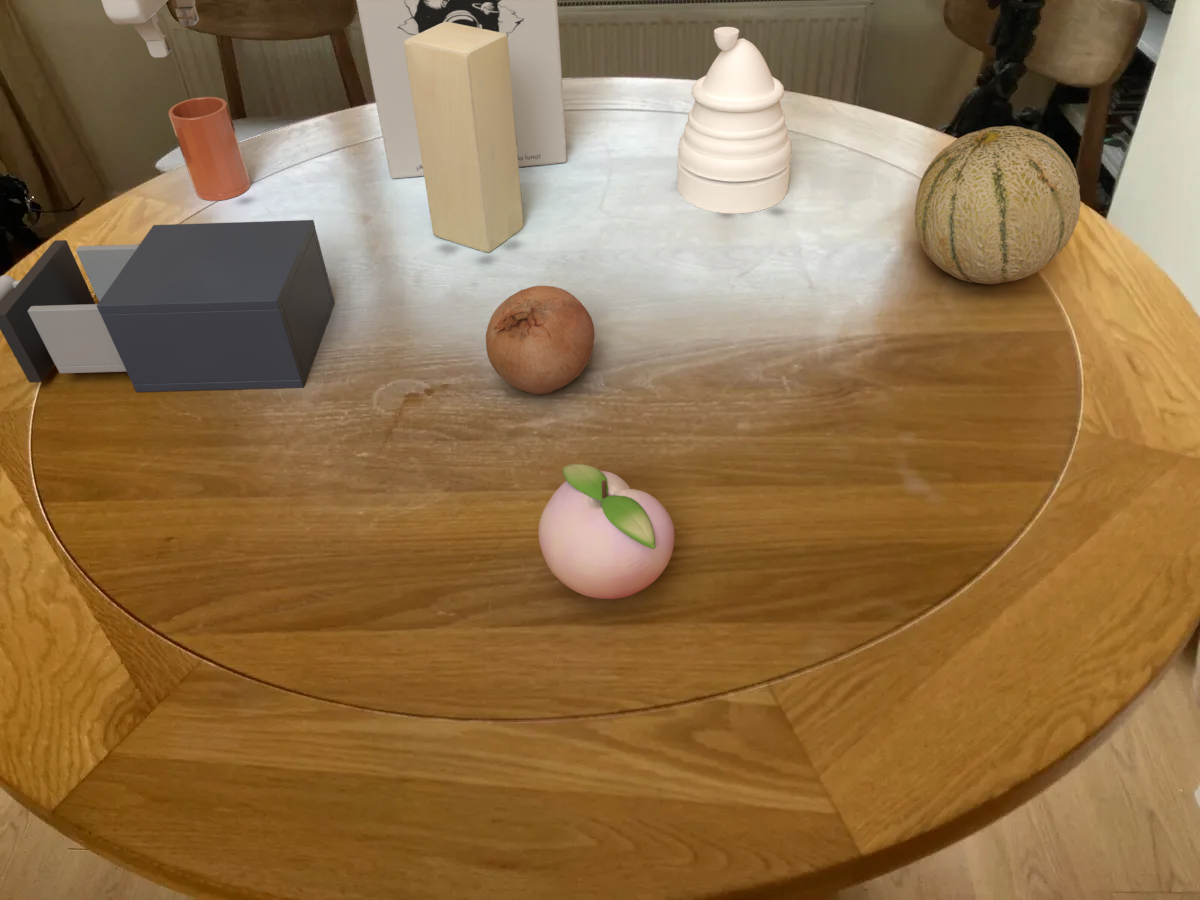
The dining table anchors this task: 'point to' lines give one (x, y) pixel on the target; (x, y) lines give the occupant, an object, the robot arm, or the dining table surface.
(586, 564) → the decorative fruit
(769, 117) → the honey pot
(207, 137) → the cup
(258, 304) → the cabinet
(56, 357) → the drawer
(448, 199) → the tall wooden block
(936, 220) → the cantaloupe
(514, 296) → the onion
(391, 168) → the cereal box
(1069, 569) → the dining table surface
